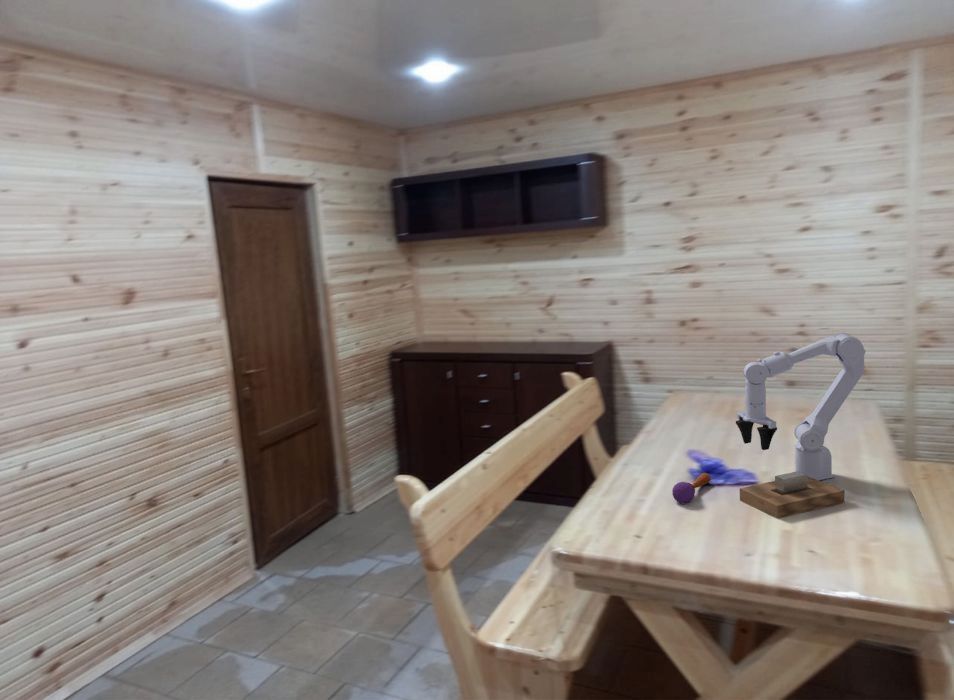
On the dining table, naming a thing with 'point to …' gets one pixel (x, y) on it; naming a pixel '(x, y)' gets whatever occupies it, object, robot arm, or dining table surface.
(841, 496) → the well
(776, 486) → the tall grey cuboid
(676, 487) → the purple and brown maraca
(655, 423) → the dining table surface
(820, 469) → the robot arm
